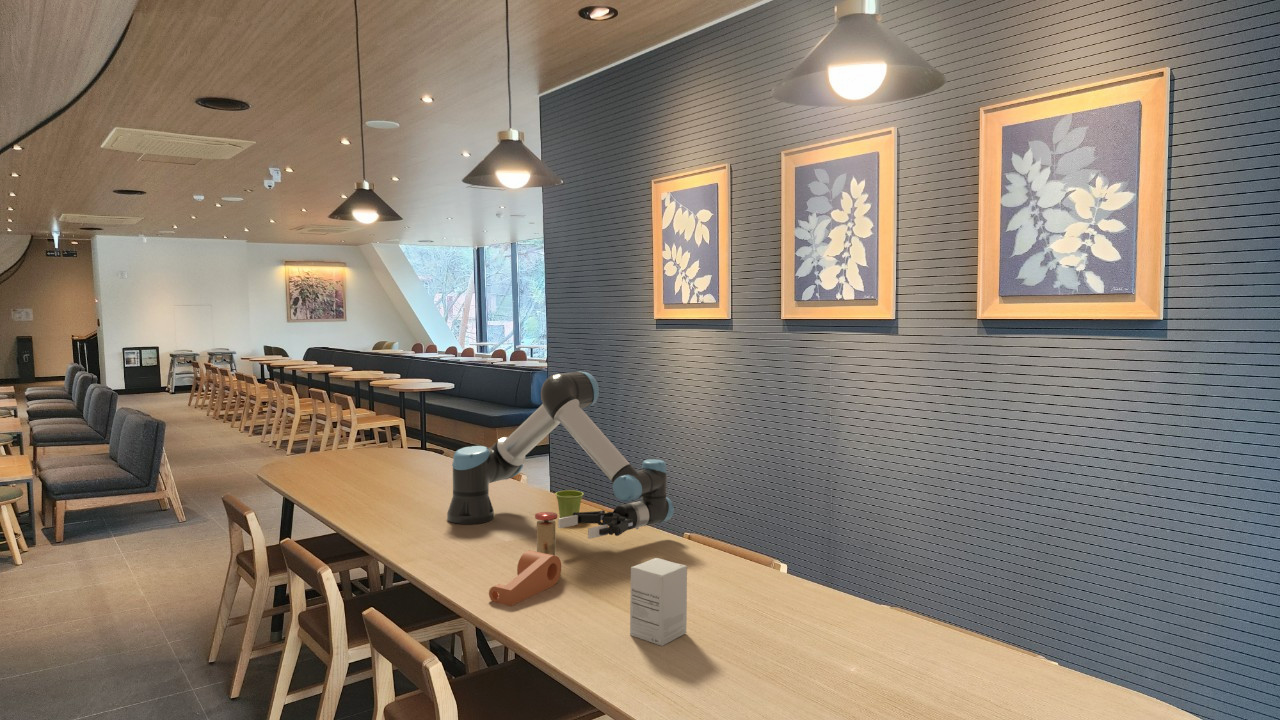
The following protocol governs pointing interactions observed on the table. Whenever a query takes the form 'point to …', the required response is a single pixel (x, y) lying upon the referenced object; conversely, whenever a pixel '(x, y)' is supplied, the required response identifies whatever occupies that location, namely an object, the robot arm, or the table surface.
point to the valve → (546, 532)
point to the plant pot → (569, 502)
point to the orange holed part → (528, 578)
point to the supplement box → (658, 601)
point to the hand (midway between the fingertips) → (573, 528)
